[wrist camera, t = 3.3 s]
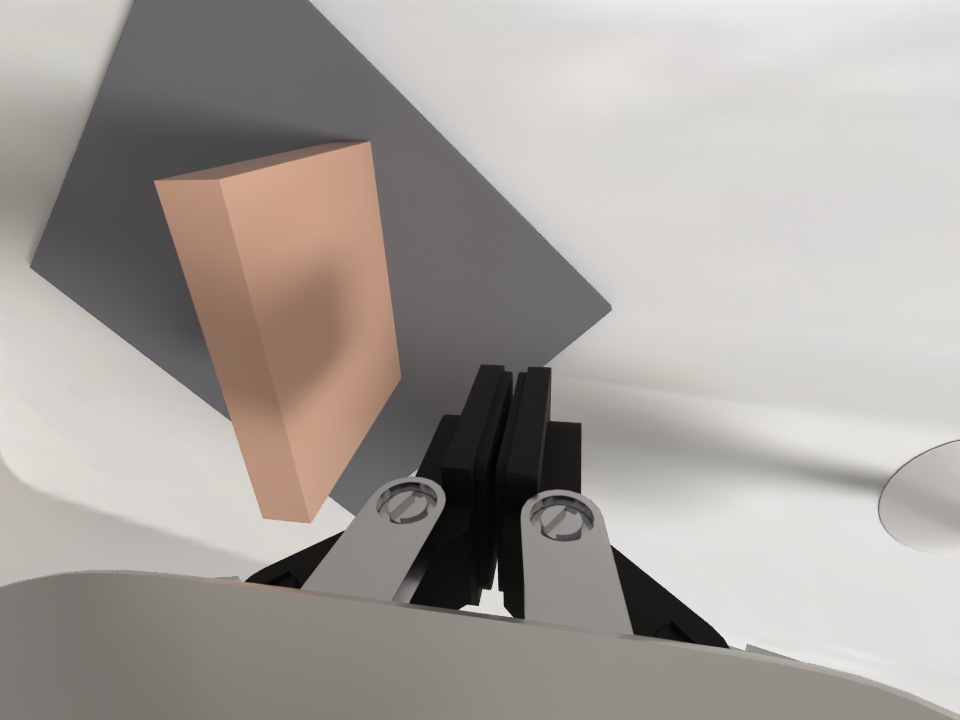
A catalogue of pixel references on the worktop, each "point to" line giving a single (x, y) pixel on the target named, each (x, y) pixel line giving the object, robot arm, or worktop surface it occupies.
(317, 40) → the mat
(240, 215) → the tile
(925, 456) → the champagne flute
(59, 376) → the worktop surface
